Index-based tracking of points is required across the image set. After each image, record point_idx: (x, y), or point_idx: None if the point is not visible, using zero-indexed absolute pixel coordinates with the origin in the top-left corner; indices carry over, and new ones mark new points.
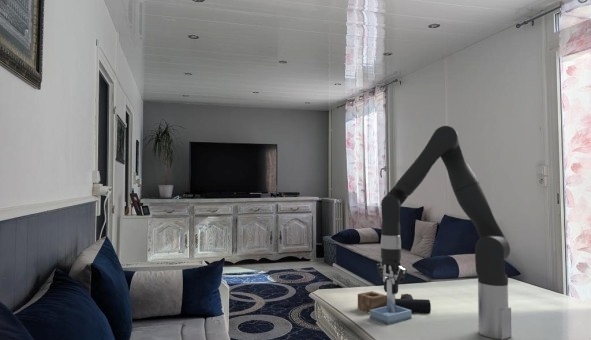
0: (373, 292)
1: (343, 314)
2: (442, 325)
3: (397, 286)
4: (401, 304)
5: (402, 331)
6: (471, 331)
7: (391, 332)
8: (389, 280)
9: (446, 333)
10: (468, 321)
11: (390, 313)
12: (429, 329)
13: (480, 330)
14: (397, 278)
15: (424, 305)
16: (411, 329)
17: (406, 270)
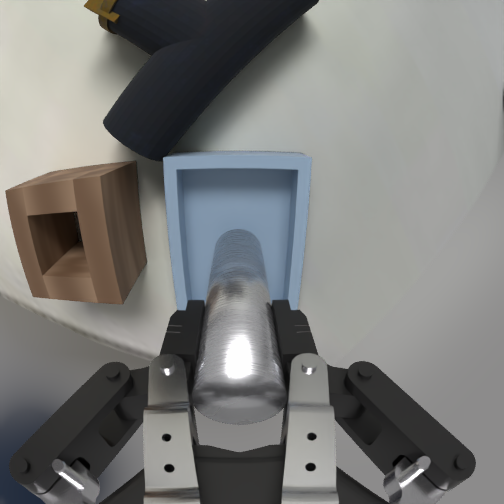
0: (23, 202)
1: (110, 343)
2: (431, 134)
3: (313, 351)
4: (194, 112)
5: (362, 311)
6: (495, 126)
7: (340, 343)
8: (256, 422)
9: (464, 207)
10: (449, 22)
11: (211, 218)
12: (419, 219)
13: None
14: (357, 437)
15: (295, 15)
16: (376, 273)
17: (469, 457)
